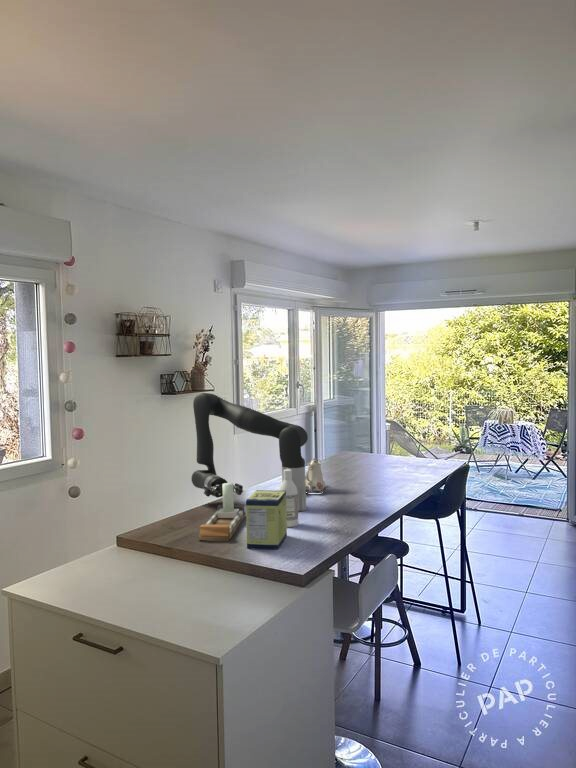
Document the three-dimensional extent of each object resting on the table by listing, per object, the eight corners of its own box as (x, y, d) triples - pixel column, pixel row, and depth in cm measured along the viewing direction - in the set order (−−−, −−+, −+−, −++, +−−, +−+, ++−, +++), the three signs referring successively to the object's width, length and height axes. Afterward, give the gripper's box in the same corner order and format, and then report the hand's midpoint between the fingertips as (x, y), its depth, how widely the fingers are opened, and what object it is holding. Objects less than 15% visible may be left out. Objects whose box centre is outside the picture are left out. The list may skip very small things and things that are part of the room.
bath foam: (301, 526, 210) (300, 470, 209) (284, 528, 207) (283, 472, 206) (293, 521, 216) (292, 467, 215) (275, 524, 213) (274, 469, 212)
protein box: (287, 535, 199) (286, 490, 198) (278, 550, 183) (277, 500, 183) (257, 534, 201) (256, 489, 200) (246, 548, 185) (245, 500, 185)
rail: (219, 515, 226) (219, 504, 226) (245, 516, 225) (244, 504, 225) (198, 541, 194) (198, 527, 194) (228, 541, 193) (228, 527, 193)
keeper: (221, 513, 222) (220, 482, 222) (239, 514, 221) (238, 482, 221) (217, 518, 216) (216, 485, 216) (236, 518, 215) (235, 485, 215)
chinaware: (305, 488, 281) (301, 453, 281) (338, 487, 274) (334, 451, 274) (279, 501, 256) (275, 463, 256) (314, 500, 248) (310, 461, 249)
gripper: (198, 477, 229) (210, 485, 214) (232, 474, 235) (247, 481, 220) (198, 497, 229) (210, 505, 214) (233, 493, 235) (247, 501, 220)
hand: (229, 493), depth 217 cm, fingers open, 8 cm apart
